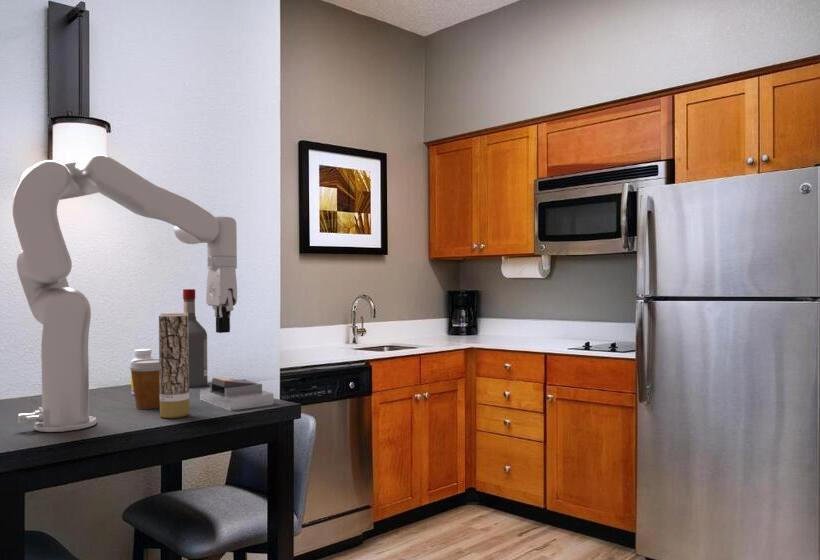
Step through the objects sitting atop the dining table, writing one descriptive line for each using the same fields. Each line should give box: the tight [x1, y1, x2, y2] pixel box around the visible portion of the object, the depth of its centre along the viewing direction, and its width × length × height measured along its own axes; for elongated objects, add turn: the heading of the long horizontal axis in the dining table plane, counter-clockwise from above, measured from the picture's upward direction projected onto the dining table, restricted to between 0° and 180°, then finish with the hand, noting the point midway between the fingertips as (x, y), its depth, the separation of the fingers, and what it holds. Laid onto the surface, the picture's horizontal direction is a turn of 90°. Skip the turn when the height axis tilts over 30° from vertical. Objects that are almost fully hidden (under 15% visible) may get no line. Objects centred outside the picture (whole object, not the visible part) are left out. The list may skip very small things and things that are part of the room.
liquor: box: [182, 288, 208, 389], centre depth 209 cm, size 9×9×30 cm
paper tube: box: [158, 312, 190, 419], centre depth 163 cm, size 7×7×25 cm
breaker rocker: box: [211, 377, 259, 387], centre depth 180 cm, size 10×8×2 cm
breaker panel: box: [199, 379, 274, 412], centre depth 180 cm, size 12×20×5 cm, turn 39°
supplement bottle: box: [130, 348, 154, 396], centre depth 194 cm, size 7×7×13 cm
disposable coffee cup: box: [129, 358, 160, 410], centre depth 174 cm, size 10×10×12 cm
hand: (222, 332), depth 178 cm, fingers closed
